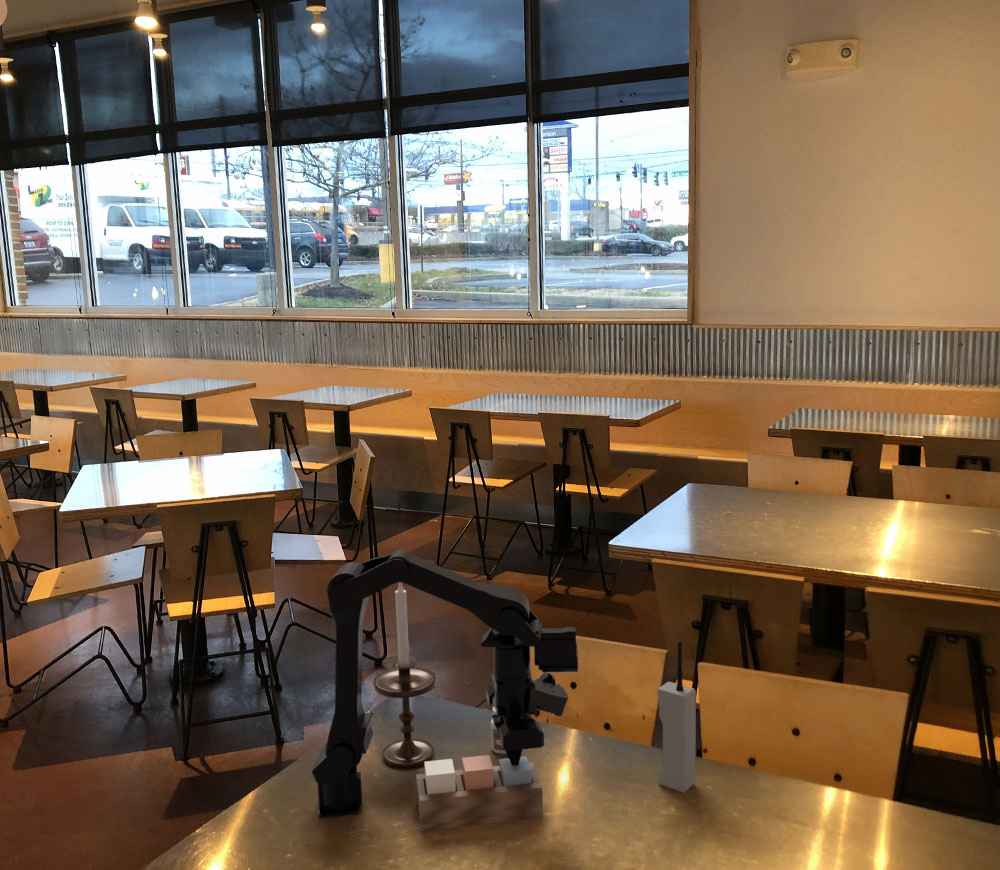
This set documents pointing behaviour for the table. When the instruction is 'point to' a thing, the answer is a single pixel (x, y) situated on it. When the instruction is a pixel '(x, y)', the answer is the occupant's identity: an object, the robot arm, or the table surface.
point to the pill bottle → (495, 738)
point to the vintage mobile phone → (678, 732)
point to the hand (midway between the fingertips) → (514, 764)
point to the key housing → (479, 803)
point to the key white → (439, 776)
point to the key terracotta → (477, 772)
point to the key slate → (515, 772)
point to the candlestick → (405, 695)
